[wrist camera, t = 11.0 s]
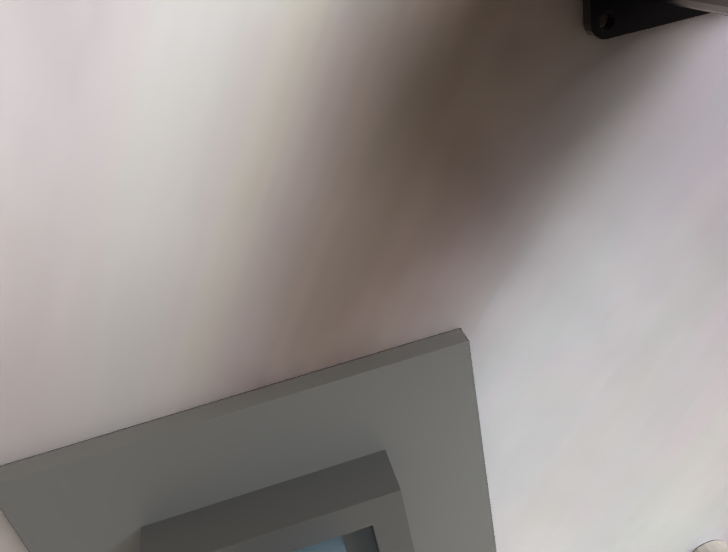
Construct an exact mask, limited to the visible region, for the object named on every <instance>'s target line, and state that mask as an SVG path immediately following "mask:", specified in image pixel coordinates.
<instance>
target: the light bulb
mask: <svg viewBox="0 0 728 552" xmlns="http://www.w3.org/2000/svg"><path fill="white" fill-rule="evenodd" d="M694 552H728V545H727V543H725V542H724V541H720V540H715V541H710V542H707V543H705V544H703V545H701V546H700V547H698V548H697V549H696V550H695V551H694Z"/></svg>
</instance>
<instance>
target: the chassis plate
mask: <svg viewBox="0 0 728 552" xmlns="http://www.w3.org/2000/svg"><path fill="white" fill-rule="evenodd" d="M0 509H1V510H2V512H3V513H4V515H5V516H6V518H7V519H8V521H9V522H10V524H11V525H12V527H13V528H14V530H15V531H16V533H17V534H18V536H19V537H20V539H21V540H22V542H23V543H24V545H25V546H26V548H27V549H28V551H29V552H294V551H297V550H300V549H303V548H306V547H309V546H312V545H315V544H318V543H321V542H324V541H327V540H330V539H333V538H336V537H339V536H343V540H344V543H345V547H346V550H347V552H496V545H495V537H494V529H493V522H492V514H491V506H490V499H489V491H488V483H487V476H486V468H485V460H484V453H483V445H482V437H481V430H480V422H479V414H478V406H477V399H476V391H475V383H474V376H473V368H472V360H471V353H470V345H469V340H468V338H467V337H466V336H465V334H464V333H463V331H462V330H461V328H459V329H456V330H453V331H449V332H446V333H443V334H439V335H436V336H433V337H429V338H426V339H423V340H419V341H416V342H413V343H409V344H406V345H403V346H399V347H396V348H393V349H389V350H386V351H383V352H379V353H376V354H373V355H369V356H366V357H363V358H359V359H356V360H353V361H349V362H346V363H343V364H339V365H336V366H333V367H329V368H326V369H323V370H319V371H316V372H313V373H310V374H306V375H303V376H300V377H296V378H293V379H290V380H286V381H283V382H280V383H276V384H273V385H270V386H266V387H263V388H260V389H256V390H253V391H250V392H246V393H243V394H240V395H236V396H233V397H230V398H226V399H223V400H220V401H216V402H213V403H210V404H206V405H203V406H200V407H196V408H193V409H190V410H186V411H183V412H180V413H176V414H173V415H170V416H166V417H163V418H160V419H156V420H153V421H150V422H146V423H143V424H140V425H136V426H133V427H130V428H126V429H123V430H120V431H116V432H113V433H110V434H106V435H103V436H100V437H96V438H93V439H90V440H86V441H83V442H80V443H76V444H73V445H70V446H66V447H63V448H60V449H56V450H53V451H50V452H46V453H43V454H40V455H36V456H33V457H30V458H26V459H23V460H20V461H16V462H13V463H10V464H6V465H3V466H0Z"/></svg>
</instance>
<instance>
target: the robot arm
mask: <svg viewBox="0 0 728 552" xmlns="http://www.w3.org/2000/svg"><path fill="white" fill-rule="evenodd" d="M605 12H607V16H608V18H607V22H606V23H605V25H604V26H603V27H601V28H600V26H599V19H600V17H601V15H602V14H603V13H605ZM707 13H717V14H722V15H727V16H728V0H583V23H584V28H585V30H586V32H587V33H588V34H589V35H591V36H593V37H595V38H599V39H609V38H613V37H617V36H621V35H625V34H628V33H632V32H636V31H640V30H644V29H648V28H652V27H656V26H660V25H664V24H668V23H672V22H676V21H680V20H683V19H687V18H691V17H695V16H699V15H703V14H707Z"/></svg>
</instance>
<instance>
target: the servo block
mask: <svg viewBox="0 0 728 552" xmlns="http://www.w3.org/2000/svg"><path fill="white" fill-rule="evenodd" d="M294 552H347V550H346V547H345V543H344V540H343V536H339V537H336V538H333V539H330V540H327V541H324V542H321V543H318V544H315V545H312V546H309V547H306V548H303V549H300V550H297V551H294Z"/></svg>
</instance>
